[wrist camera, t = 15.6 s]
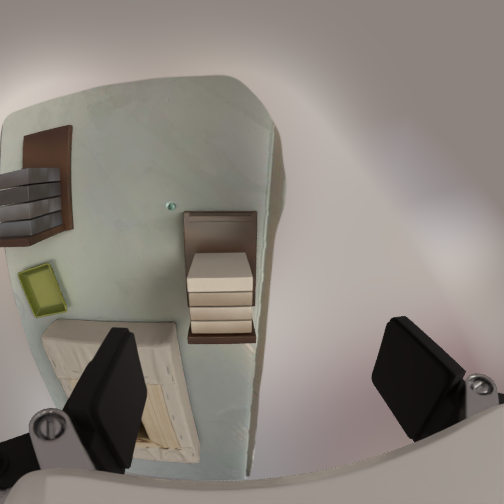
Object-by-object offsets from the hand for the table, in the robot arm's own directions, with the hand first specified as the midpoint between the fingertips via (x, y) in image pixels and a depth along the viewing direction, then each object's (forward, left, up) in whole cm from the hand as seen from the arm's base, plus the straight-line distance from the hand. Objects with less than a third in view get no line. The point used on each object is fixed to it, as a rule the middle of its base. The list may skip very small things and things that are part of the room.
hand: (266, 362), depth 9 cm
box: (+32, -20, -31) cm, 49 cm away
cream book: (+5, -2, -30) cm, 31 cm away
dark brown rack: (+6, -2, -31) cm, 32 cm away
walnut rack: (-7, -30, -31) cm, 44 cm away
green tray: (+11, -33, -31) cm, 46 cm away
